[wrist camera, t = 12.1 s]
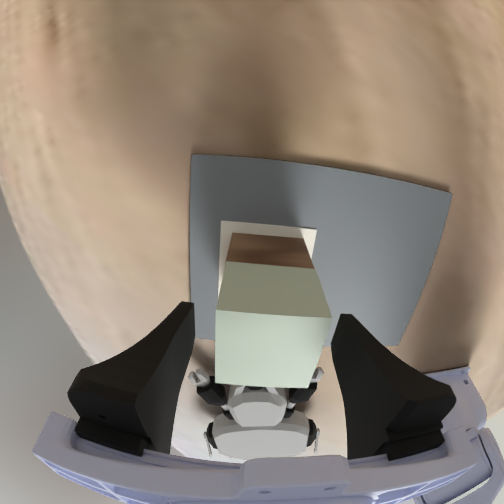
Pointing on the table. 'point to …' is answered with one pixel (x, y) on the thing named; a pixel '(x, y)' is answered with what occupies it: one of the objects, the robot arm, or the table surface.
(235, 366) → the sage block
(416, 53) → the table surface
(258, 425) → the robot toy
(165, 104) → the table surface
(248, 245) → the walnut block
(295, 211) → the board
